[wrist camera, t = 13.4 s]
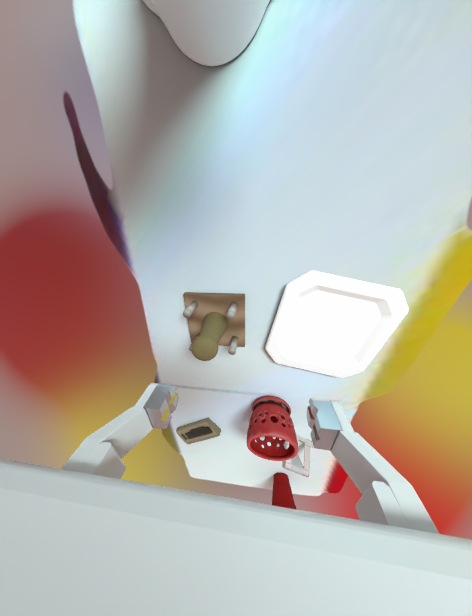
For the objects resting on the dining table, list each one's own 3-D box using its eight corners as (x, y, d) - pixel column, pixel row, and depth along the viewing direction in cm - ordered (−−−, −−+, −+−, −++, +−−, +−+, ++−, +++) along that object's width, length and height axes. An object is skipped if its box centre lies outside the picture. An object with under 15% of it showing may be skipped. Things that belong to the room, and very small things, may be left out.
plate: (352, 375, 46) (356, 382, 44) (261, 354, 46) (261, 360, 44) (414, 290, 34) (423, 294, 32) (291, 264, 35) (293, 266, 33)
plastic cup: (293, 483, 76) (298, 525, 65) (268, 479, 77) (269, 520, 67) (295, 471, 71) (302, 515, 61) (269, 468, 73) (270, 510, 62)
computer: (208, 415, 62) (205, 425, 59) (221, 428, 65) (219, 438, 62) (177, 425, 68) (174, 434, 65) (191, 436, 70) (188, 446, 67)
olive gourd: (207, 333, 44) (191, 366, 34) (200, 312, 41) (182, 341, 31) (230, 332, 42) (221, 365, 33) (225, 310, 40) (214, 339, 30)
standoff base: (185, 292, 40) (173, 303, 35) (244, 293, 39) (242, 305, 33) (193, 340, 47) (184, 356, 41) (244, 343, 45) (242, 360, 39)
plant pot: (259, 386, 51) (259, 429, 41) (299, 401, 52) (309, 447, 41) (243, 409, 57) (239, 452, 47) (278, 422, 58) (283, 468, 48)
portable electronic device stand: (311, 439, 60) (319, 470, 53) (299, 449, 64) (304, 479, 56) (290, 431, 60) (294, 460, 52) (278, 441, 63) (280, 470, 56)
